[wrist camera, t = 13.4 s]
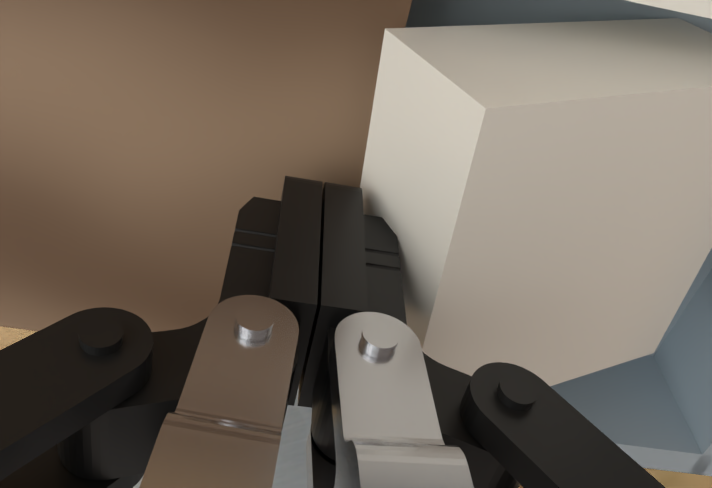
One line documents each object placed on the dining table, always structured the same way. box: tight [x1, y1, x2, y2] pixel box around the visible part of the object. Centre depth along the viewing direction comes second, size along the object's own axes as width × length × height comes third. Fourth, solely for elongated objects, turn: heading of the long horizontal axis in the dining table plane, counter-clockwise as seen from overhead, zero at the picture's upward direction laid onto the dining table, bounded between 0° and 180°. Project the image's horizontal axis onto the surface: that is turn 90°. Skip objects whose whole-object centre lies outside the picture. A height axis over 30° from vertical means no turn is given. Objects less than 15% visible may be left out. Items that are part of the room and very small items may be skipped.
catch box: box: [405, 0, 712, 476], centre depth 12 cm, size 22×11×4 cm, turn 168°
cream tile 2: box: [360, 18, 712, 386], centre depth 14 cm, size 7×7×3 cm
